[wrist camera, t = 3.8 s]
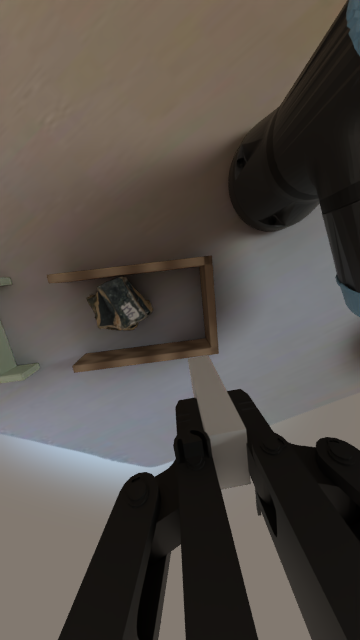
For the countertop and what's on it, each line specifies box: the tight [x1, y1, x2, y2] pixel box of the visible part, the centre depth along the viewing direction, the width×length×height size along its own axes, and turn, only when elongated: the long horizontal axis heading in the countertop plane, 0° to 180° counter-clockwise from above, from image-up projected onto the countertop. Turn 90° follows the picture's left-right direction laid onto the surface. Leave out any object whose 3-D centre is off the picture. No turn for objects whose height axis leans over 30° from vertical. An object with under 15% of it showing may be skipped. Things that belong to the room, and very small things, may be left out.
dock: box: [0, 278, 40, 383], centre depth 31 cm, size 5×17×4 cm, turn 7°
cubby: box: [47, 256, 219, 373], centre depth 31 cm, size 24×16×5 cm, turn 97°
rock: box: [87, 277, 153, 331], centre depth 30 cm, size 9×9×6 cm
